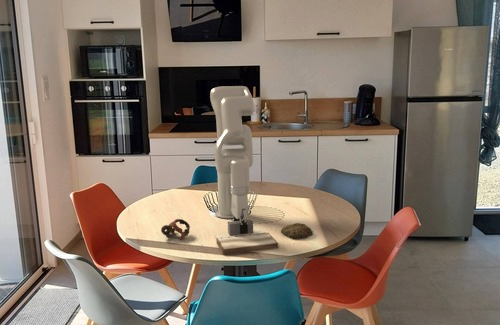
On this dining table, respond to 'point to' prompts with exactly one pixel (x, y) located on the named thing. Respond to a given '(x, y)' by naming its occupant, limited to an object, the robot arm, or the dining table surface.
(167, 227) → the rusty gear assembly
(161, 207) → the dining table surface
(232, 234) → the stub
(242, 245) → the light wooden flat board
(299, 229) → the bread roll
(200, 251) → the dining table surface
